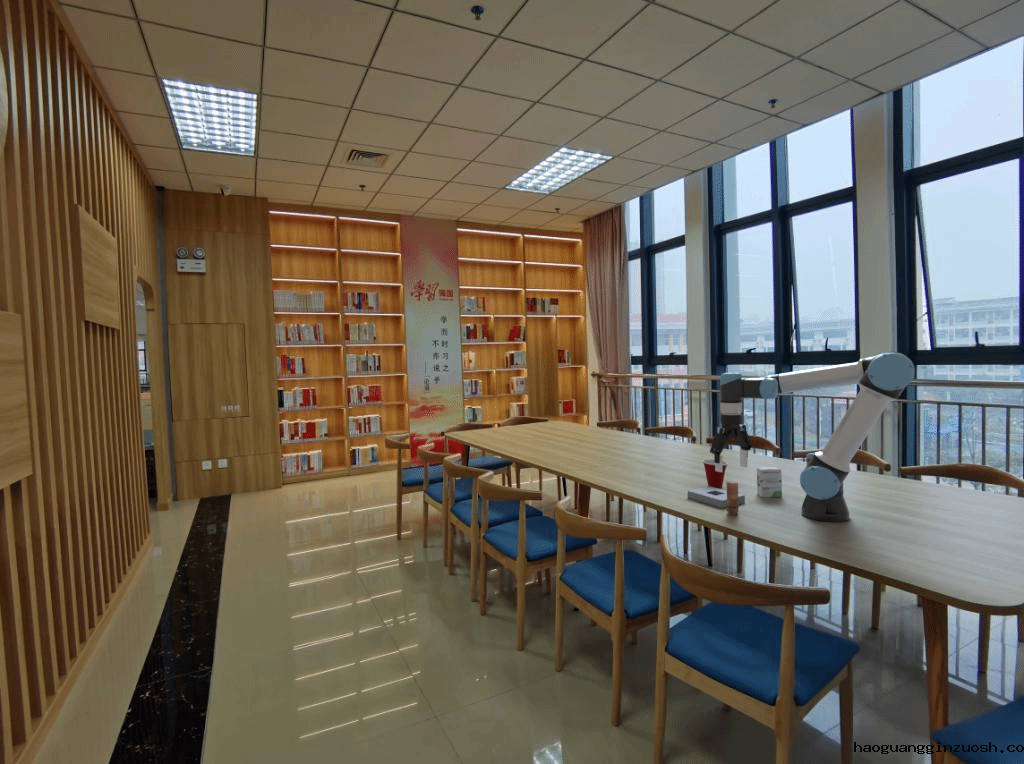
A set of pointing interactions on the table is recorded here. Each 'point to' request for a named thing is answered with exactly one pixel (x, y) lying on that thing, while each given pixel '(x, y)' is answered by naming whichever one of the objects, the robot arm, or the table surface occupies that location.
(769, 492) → the ink box
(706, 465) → the plastic cup
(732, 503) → the peg
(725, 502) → the board
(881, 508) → the table surface
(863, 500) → the table surface
